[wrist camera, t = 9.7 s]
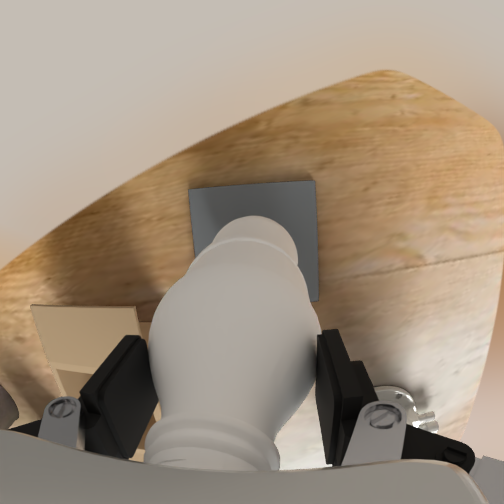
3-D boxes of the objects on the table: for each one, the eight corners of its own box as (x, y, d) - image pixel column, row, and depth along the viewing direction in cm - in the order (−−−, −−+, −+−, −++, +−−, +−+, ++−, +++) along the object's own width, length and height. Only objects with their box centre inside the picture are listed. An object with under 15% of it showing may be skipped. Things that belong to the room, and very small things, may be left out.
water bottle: (204, 271, 30) (54, 512, 5) (232, 199, 28) (37, 343, 4) (275, 300, 30) (275, 581, 6) (307, 231, 28) (440, 472, 4)
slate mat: (313, 180, 30) (315, 180, 29) (317, 297, 33) (318, 301, 32) (190, 189, 31) (188, 189, 30) (203, 303, 34) (201, 306, 33)
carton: (169, 270, 33) (133, 308, 24) (201, 433, 39) (187, 487, 29) (80, 274, 34) (29, 305, 24) (126, 425, 40) (102, 472, 30)
